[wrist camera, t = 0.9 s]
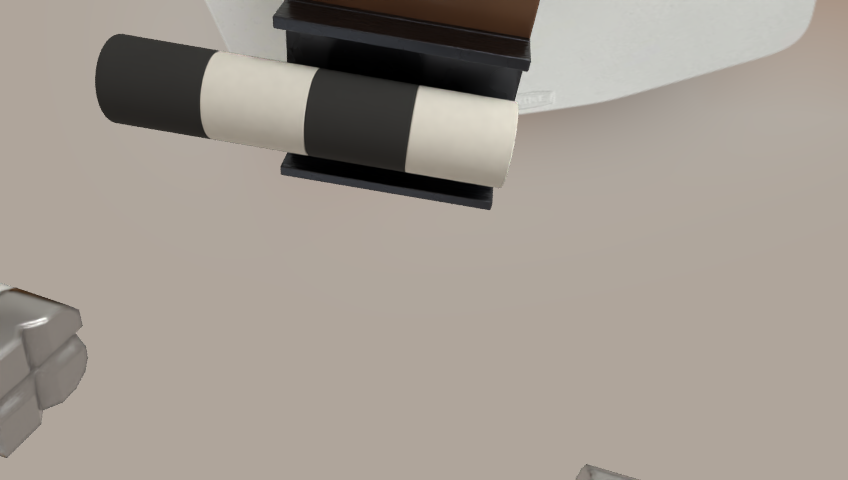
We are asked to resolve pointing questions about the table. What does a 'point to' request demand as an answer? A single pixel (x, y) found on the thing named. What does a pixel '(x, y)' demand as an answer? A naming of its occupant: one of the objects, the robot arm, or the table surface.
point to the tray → (399, 79)
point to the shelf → (459, 12)
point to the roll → (306, 110)
